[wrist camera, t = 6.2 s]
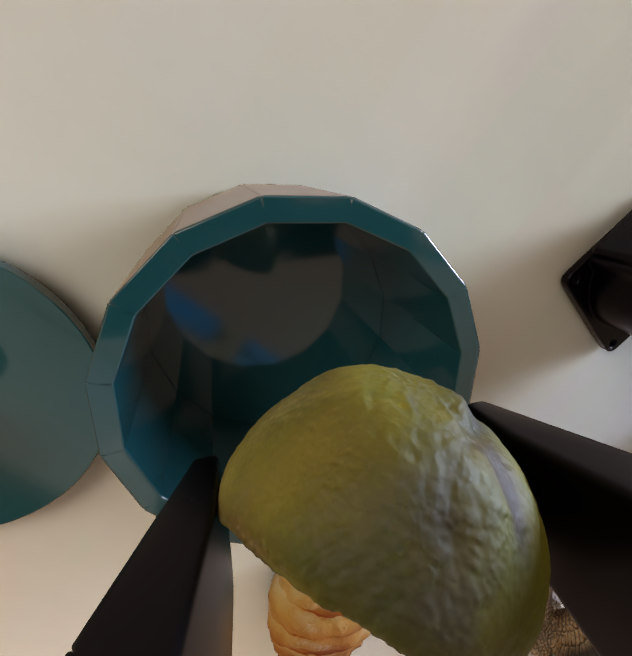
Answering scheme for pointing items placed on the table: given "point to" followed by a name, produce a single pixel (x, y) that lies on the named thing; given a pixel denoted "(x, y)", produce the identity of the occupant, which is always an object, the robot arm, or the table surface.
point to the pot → (263, 324)
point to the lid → (40, 396)
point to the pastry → (308, 625)
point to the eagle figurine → (560, 633)
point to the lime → (394, 513)
